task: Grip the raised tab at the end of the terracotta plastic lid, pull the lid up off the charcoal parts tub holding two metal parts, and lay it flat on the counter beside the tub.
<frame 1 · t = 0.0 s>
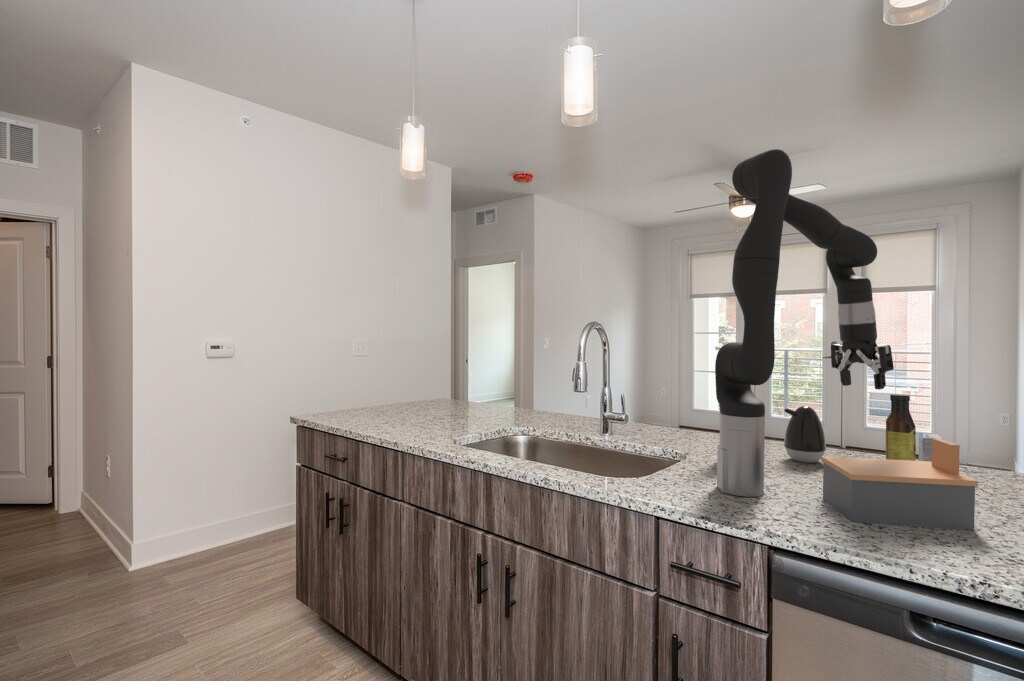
hand: (862, 387, 128), 22 cm above the worktop, tool pointing down, fingers open, 8 cm apart
metal part A: (865, 511, 102), point 1 cm above the worktop, touching tub
medicine box: (930, 469, 139), on the worktop
lid: (892, 472, 104), point 8 cm above the worktop, touching tub
tub: (892, 513, 104), on the worktop
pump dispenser: (804, 461, 146), on the worktop
sauce bottle: (900, 472, 135), on the worktop
metal part B: (906, 505, 106), point 1 cm above the worktop, touching tub
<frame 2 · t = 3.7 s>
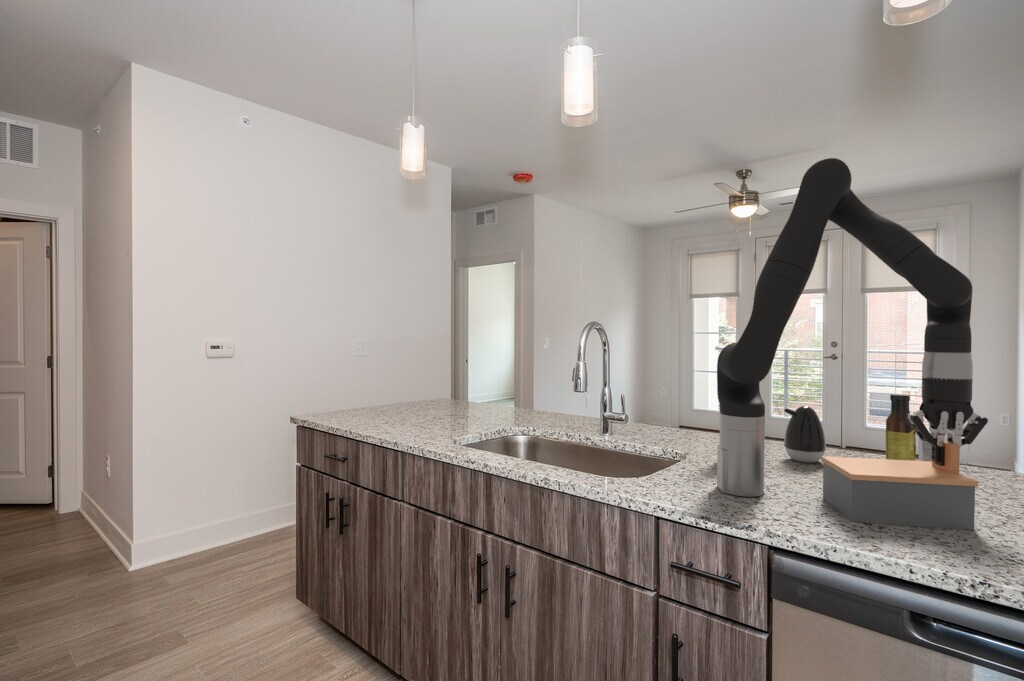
hand: (945, 464, 102), 10 cm above the worktop, tool pointing down, fingers closed on lid
lid: (892, 472, 104), point 8 cm above the worktop, touching gripper
everything else where it was.
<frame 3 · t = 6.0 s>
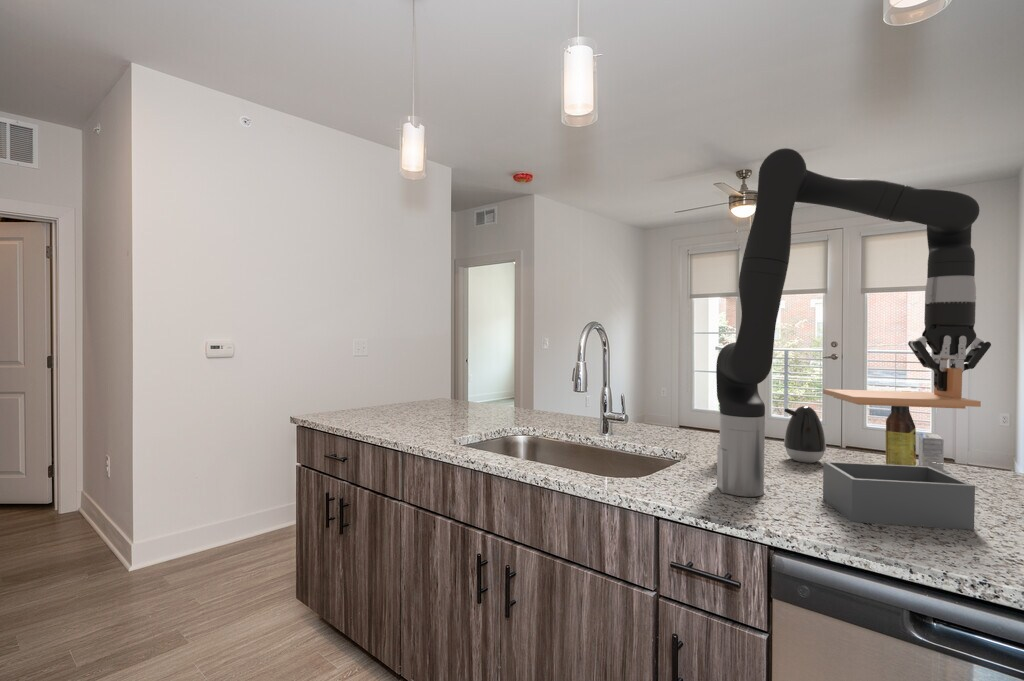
hand: (947, 390, 101), 24 cm above the worktop, tool pointing down, fingers closed on lid
lid: (894, 399, 103), point 22 cm above the worktop, touching gripper
everything else where it was.
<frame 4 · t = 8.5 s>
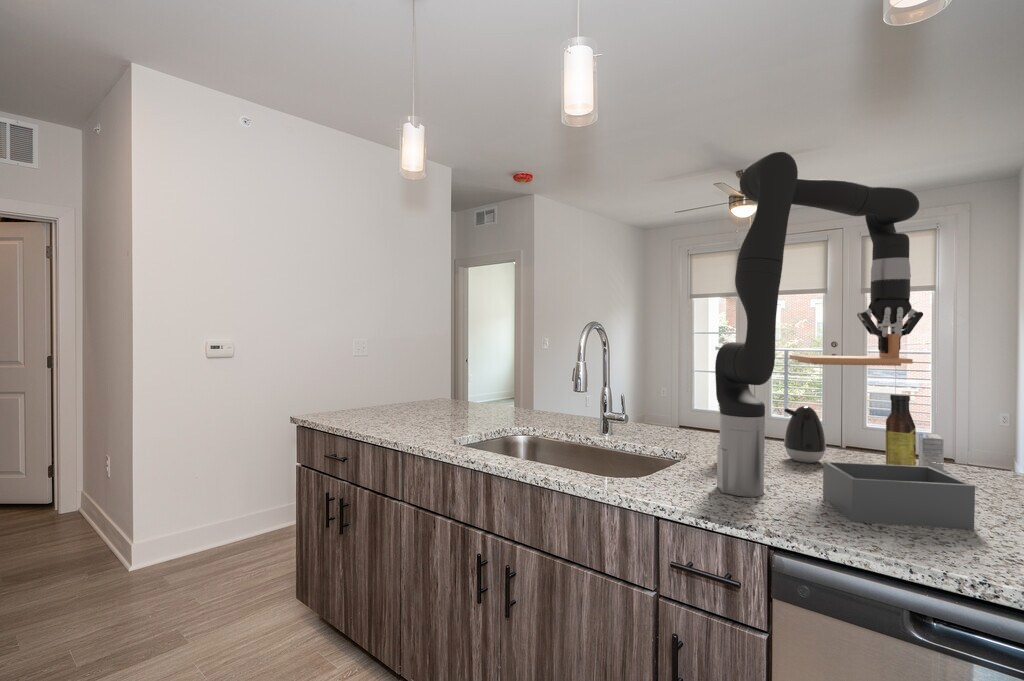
hand: (888, 353, 123), 31 cm above the worktop, tool pointing down, fingers closed on lid
lid: (846, 361, 125), point 29 cm above the worktop, touching gripper
everything else where it was.
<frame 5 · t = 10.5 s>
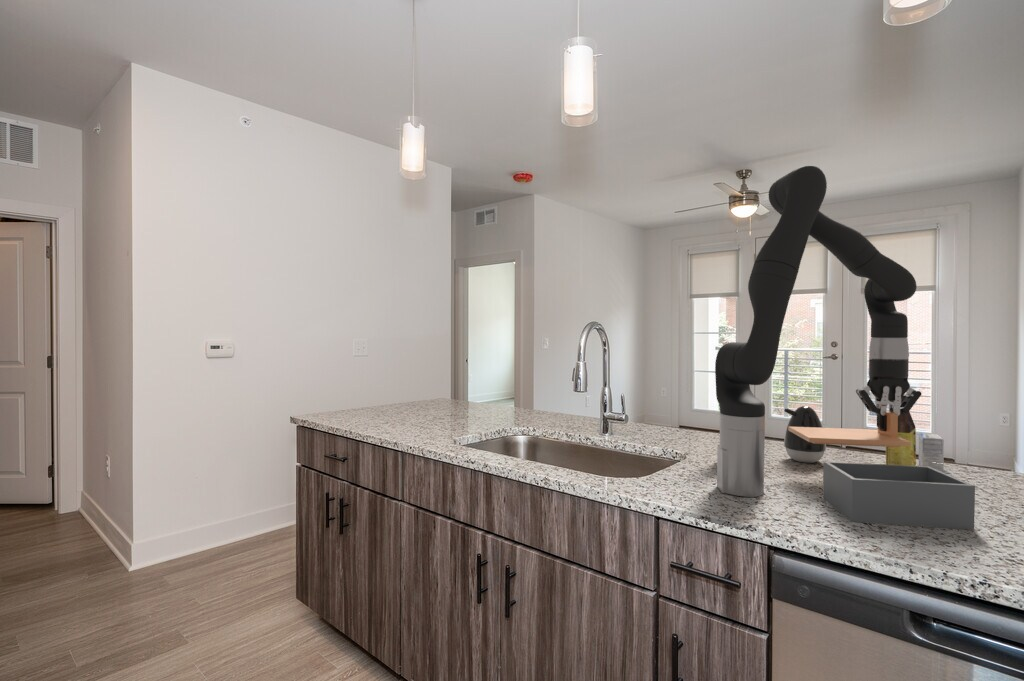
hand: (887, 430, 123), 13 cm above the worktop, tool pointing down, fingers closed on lid
lid: (845, 437, 125), point 11 cm above the worktop, touching gripper
everything else where it was.
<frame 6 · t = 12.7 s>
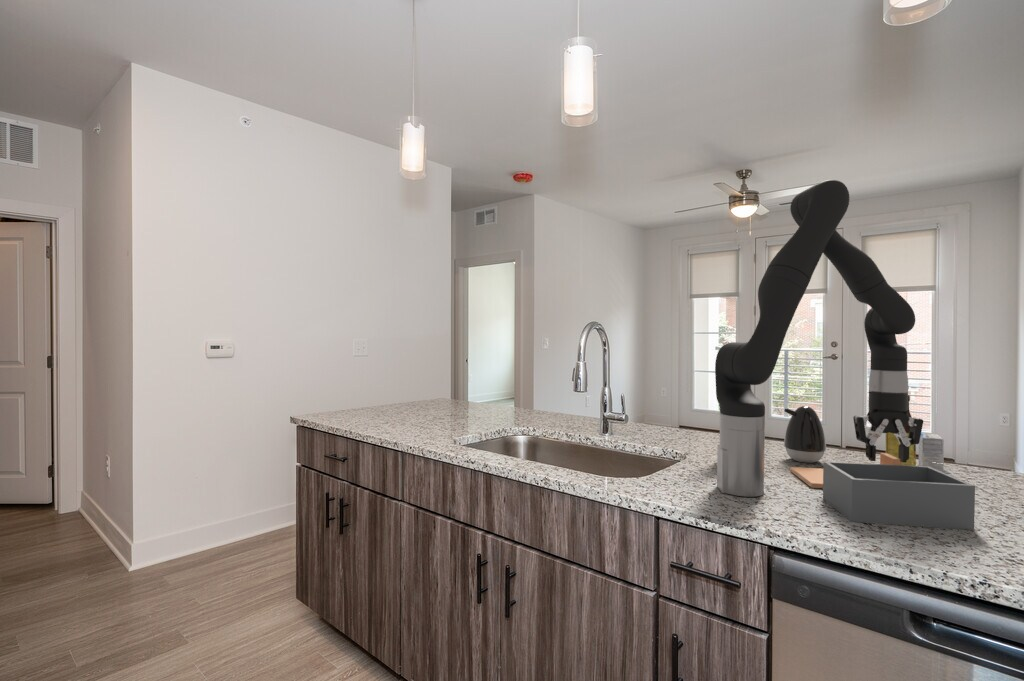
hand: (886, 460, 124), 6 cm above the worktop, tool pointing down, fingers open, 6 cm apart
lid: (847, 481, 125), on the worktop
everything else where it was.
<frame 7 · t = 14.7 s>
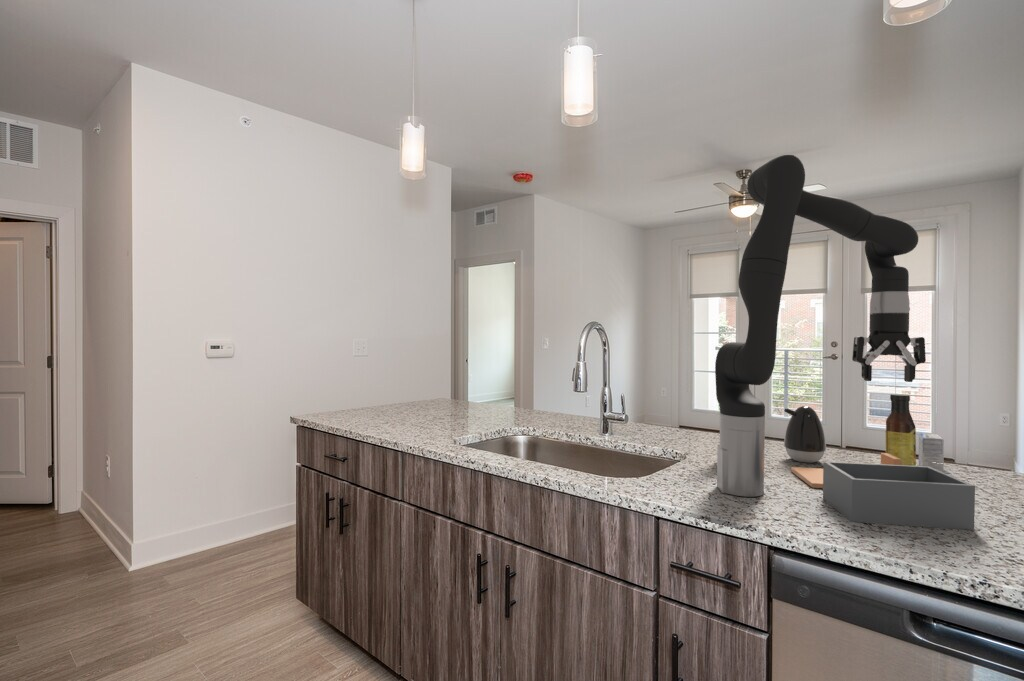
hand: (887, 381, 123), 24 cm above the worktop, tool pointing down, fingers open, 8 cm apart
nothing on the worktop moved.
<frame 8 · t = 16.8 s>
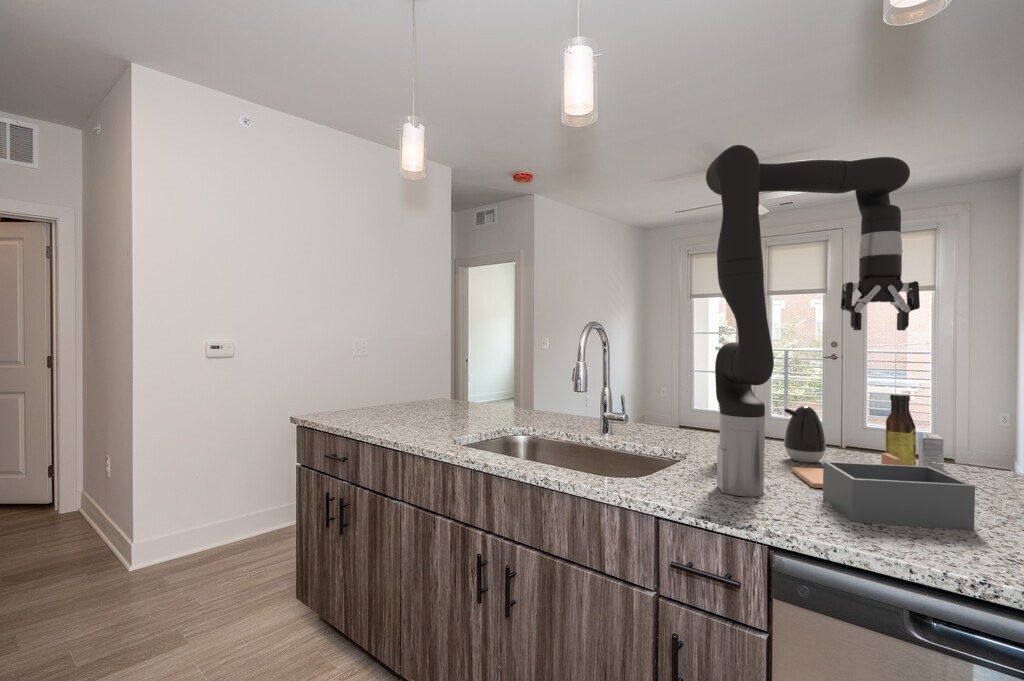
hand: (878, 330, 114), 36 cm above the worktop, tool pointing down, fingers open, 8 cm apart
nothing on the worktop moved.
at the end: lid touching worktop; lid inside the target area (2.1 cm from its centre), on the worktop; lid tilted 0° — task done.
